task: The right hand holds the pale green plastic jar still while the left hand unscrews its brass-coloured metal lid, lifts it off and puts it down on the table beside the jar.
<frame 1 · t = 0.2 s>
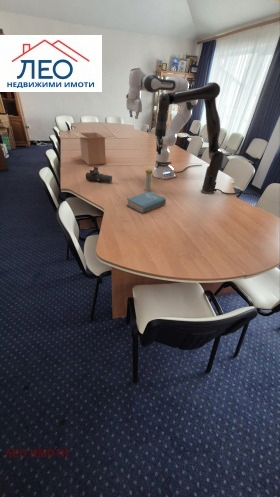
left hand: (133, 118, 170), 48 cm above the table, tool pointing down, fingers open, 8 cm apart
right hand: (158, 152, 164), 29 cm above the table, tool pointing down, fingers open, 8 cm apart
book: (146, 205, 157), on the table
box: (93, 161, 237), on the table
jar: (147, 190, 181), on the table
lid: (149, 170, 171), point 16 cm above the table, screwed on, not yet turned
laser sight: (98, 181, 190), on the table
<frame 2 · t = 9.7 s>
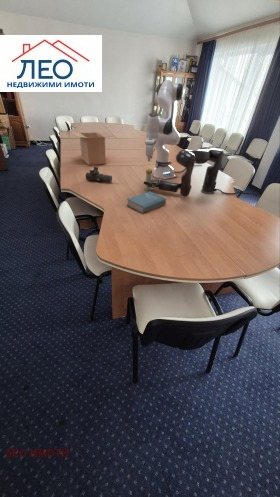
left hand: (150, 159, 167), 24 cm above the table, tool pointing down, fingers open, 7 cm apart
right hand: (144, 181, 178), 6 cm above the table, tool horizontal, fingers closed on jar, 4 cm apart
jar: (147, 190, 181), on the table, touching right hand
everything else where it was.
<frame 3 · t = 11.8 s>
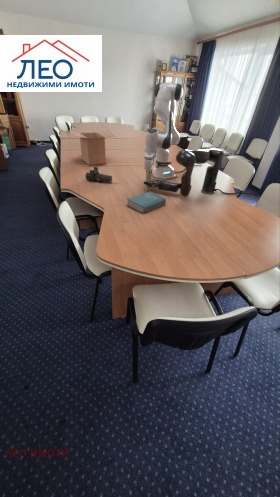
left hand: (149, 172, 172), 14 cm above the table, tool pointing down, fingers closed on lid, 5 cm apart
right hand: (145, 181, 178), 6 cm above the table, tool horizontal, fingers closed on jar, 4 cm apart
jar: (147, 190, 181), on the table, touching right hand
lid: (149, 170, 171), point 16 cm above the table, screwed on, not yet turned, touching left hand
everything else where it was.
when the left hand's fingers open (14 cm above the table, at t = 12.9 s): lid stays where it is, point 16 cm above the table.
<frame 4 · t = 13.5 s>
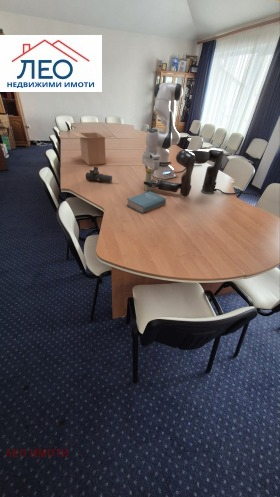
left hand: (149, 172, 172), 14 cm above the table, tool pointing down, fingers open, 7 cm apart
right hand: (144, 181, 178), 6 cm above the table, tool horizontal, fingers closed on jar, 4 cm apart
jar: (147, 189, 181), on the table, touching right hand
lid: (149, 170, 171), point 16 cm above the table, turned 72° so far, risen 0.2 cm, still on its thread
everything else where it was.
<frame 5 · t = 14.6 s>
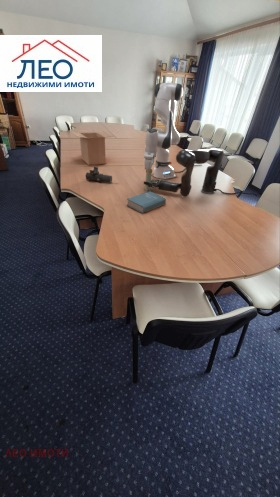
left hand: (149, 172, 172), 14 cm above the table, tool pointing down, fingers closed on lid, 5 cm apart
right hand: (144, 181, 178), 6 cm above the table, tool horizontal, fingers closed on jar, 4 cm apart
jar: (147, 189, 181), on the table, touching right hand
lid: (149, 169, 171), point 16 cm above the table, turned 72° so far, risen 0.2 cm, still on its thread, touching left hand
everything else where it was.
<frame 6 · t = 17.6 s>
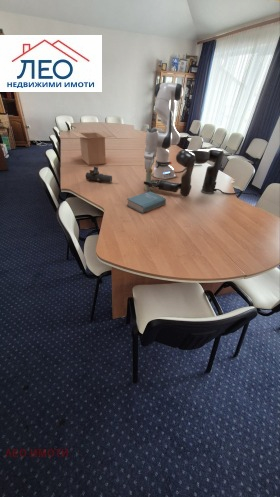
left hand: (149, 172, 172), 14 cm above the table, tool pointing down, fingers closed on lid, 5 cm apart
right hand: (145, 181, 178), 6 cm above the table, tool horizontal, fingers closed on jar, 4 cm apart
jar: (147, 189, 181), on the table, touching right hand
lid: (149, 169, 171), point 16 cm above the table, turned 145° so far, risen 0.4 cm, still on its thread, touching left hand
everything else where it was.
when the left hand's fingers open (2 cm above the table, at t = 24.1 s): lid drops 2 cm, point 2 cm above the table.
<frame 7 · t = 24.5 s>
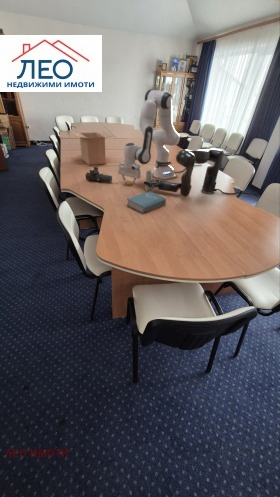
left hand: (128, 181, 187), 2 cm above the table, tool pointing down, fingers open, 8 cm apart
right hand: (145, 181, 178), 6 cm above the table, tool horizontal, fingers closed on jar, 4 cm apart
jar: (147, 189, 181), on the table, touching right hand
lid: (128, 182, 187), point 2 cm above the table, off its thread
everything else where it was.
when the right hand's fingers open (6 cm above the table, at t = 25.1 s): jar stays where it is, on the table.
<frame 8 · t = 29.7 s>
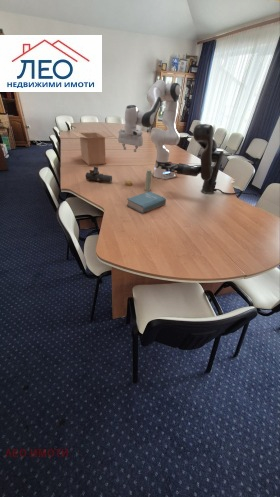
left hand: (129, 150, 173), 27 cm above the table, tool pointing down, fingers open, 8 cm apart
right hand: (163, 165, 165), 21 cm above the table, tool horizontal, fingers open, 8 cm apart
jar: (147, 190, 181), on the table
everything else where it was.
at the end: lid came off its thread; lid point 1.9 cm above the table; the left hand is holding nothing; the right hand is holding nothing; jar tilted 0°; jar moved 0.1 cm from its start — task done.
